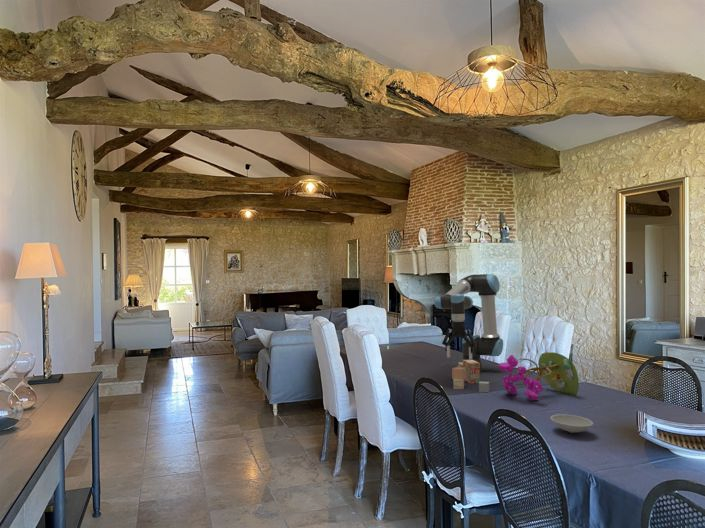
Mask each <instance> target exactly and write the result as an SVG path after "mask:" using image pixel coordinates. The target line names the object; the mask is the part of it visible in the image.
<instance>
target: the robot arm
mask: <svg viewBox="0 0 705 528" xmlns="http://www.w3.org/2000/svg"><path fill="white" fill-rule="evenodd" d="M500 287H501V285H500V281H499V279H498V276H497V275H495V274H493V273H491V274H490V273H485V274H484V273H481V274H470V275H467V276H464V277H463V278H461V279H460V280H459V281H457V282H456V285H454V287H452V288H451V289H450V290H449V291H447V292H446V293H445V294H444V295H442V296H441V295H439V296H436V297H435V298H434V302H433V303H434V307H435V308H436V309H441V310H451V328H447V329H446V333H445V335H444V338H443V340H442V342H441V345H443V346H445V352H446V358H450V357H451V345H450V343H452V341H453V340H454V338H461V339H462V342H461V343H462V344H461V346H462V349H461V350H462V360H461V362H463V360H474V361H477V362H478V363H480V372H483V371H484V365H483V362H482V359H481V356H484V357H485V356H489V357H499V356H501V355H502V353H503V349H504V340H503V338H501V337H500V334H499V333H498V329H497V328H498V327H497V326H498V325H497V313H496V312H497V311H496V296H497V293H498V292H499V291H500ZM469 293H478V296H479V297H480V301H481V315H482V316H481V317H482V327H483V328H482V329H483V334H482V335H479V334H474V335H473V334H472V331H471V329H466V321H465V320H466V310H468V309H470V308H472V307H473V305H474V301H473V299H472V297H470V296H468V295H466V294H469ZM450 334H452V335H451V336H450ZM466 334H467V335H466Z"/></svg>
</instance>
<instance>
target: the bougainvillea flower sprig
mask: <svg viewBox="0 0 705 528" xmlns="http://www.w3.org/2000/svg"><path fill="white" fill-rule="evenodd" d="M522 361H529V362H531V363H533V365H531V366H529V367H527V368H526V367H525V366H523V365H522V366H518V364H519V363H520V362H522ZM517 366H518V367H517ZM533 366H535V367H533ZM516 367H517V368H516ZM515 368H516V373H515V374H512V373H513V372H514V369H515ZM498 369H500V371H502V372H506V373H507V372H508V374H507V375H504V376H502V383H503V389H504V390H505V393H508V394H510V395H511V394H512V395H511V396H514V395H517V394H518V390H517V388H516V386H519V385H520V386H523V385H524V386H525V387H526V390H525V391H524V395H525V397H527V399H529V400H530V401H538V399H539V394H540V393H542V392H543V390H544V389H543V384H541V379H542V378H543V379H544V380H545V382H546V383H547V384H544V386H549V387H550V388H551V389H553V390H554V391H556V390H557V392H560V391H561V393H564V392H565V393H564V394H568V393H569V394H570V395H572V394H573V396H577V394H578V392H579V389H580V382H579V375H578V371H577V368H576V366H575V364H574V363H573V361H571V360H570V359H569V358H568V357H566V356H565V355H563V354H560V353H558V352H551V351H550V352H548V351H547V352H543V353H541V354H540V356H539V359H538V362H537V363H536V362H535V361H533V360H532V359H528V358H519V359H517V357H515V356H514V355H513V354H510V355H508V357H507V359H506V362H499V364H498ZM530 371H531V372H530ZM534 373H537V376H538V377H535V378H530V377H528V376H529V375H532V374H534ZM523 374H524V375H523ZM521 381H523V382H521ZM515 385H516V386H515Z"/></svg>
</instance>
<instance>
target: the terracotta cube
mask: <svg viewBox="0 0 705 528" xmlns="http://www.w3.org/2000/svg"><path fill="white" fill-rule="evenodd" d="M451 376H452V380H454V379H456V380H463V379H466V368H463V367H458V366H455V367H453V368H451Z"/></svg>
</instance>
